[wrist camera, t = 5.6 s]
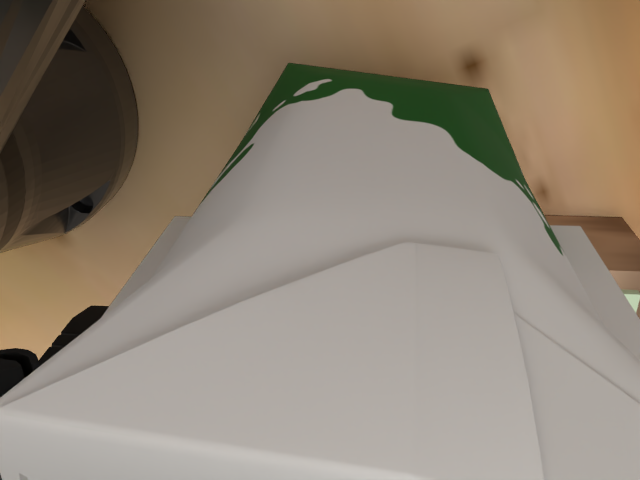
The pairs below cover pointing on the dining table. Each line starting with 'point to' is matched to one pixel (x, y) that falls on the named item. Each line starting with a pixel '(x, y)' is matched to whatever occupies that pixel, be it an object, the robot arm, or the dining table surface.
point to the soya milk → (346, 317)
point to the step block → (612, 250)
